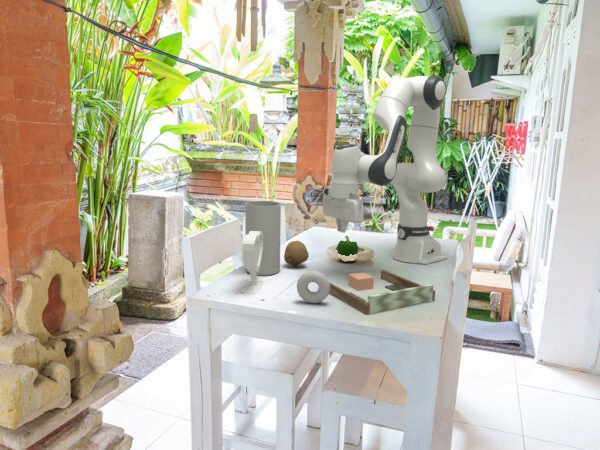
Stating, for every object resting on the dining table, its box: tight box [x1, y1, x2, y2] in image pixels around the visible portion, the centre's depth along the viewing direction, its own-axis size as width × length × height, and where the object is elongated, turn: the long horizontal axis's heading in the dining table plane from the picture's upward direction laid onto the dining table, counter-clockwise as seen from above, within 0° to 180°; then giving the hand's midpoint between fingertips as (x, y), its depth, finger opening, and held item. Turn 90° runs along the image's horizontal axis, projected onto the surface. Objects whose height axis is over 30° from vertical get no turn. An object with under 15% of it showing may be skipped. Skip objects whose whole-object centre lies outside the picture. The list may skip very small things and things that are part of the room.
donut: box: [296, 270, 330, 304], centre depth 137 cm, size 10×4×10 cm, turn 81°
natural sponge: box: [283, 240, 310, 267], centre depth 174 cm, size 9×9×10 cm
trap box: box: [328, 269, 436, 315], centre depth 146 cm, size 26×25×5 cm
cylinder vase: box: [244, 200, 282, 277], centre depth 166 cm, size 12×12×25 cm
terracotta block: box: [347, 272, 375, 292], centre depth 153 cm, size 6×6×4 cm
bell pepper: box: [336, 235, 359, 256], centre depth 183 cm, size 8×8×10 cm
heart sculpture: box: [242, 231, 265, 295], centre depth 149 cm, size 16×5×18 cm, turn 174°
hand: (341, 231), depth 160 cm, fingers closed
